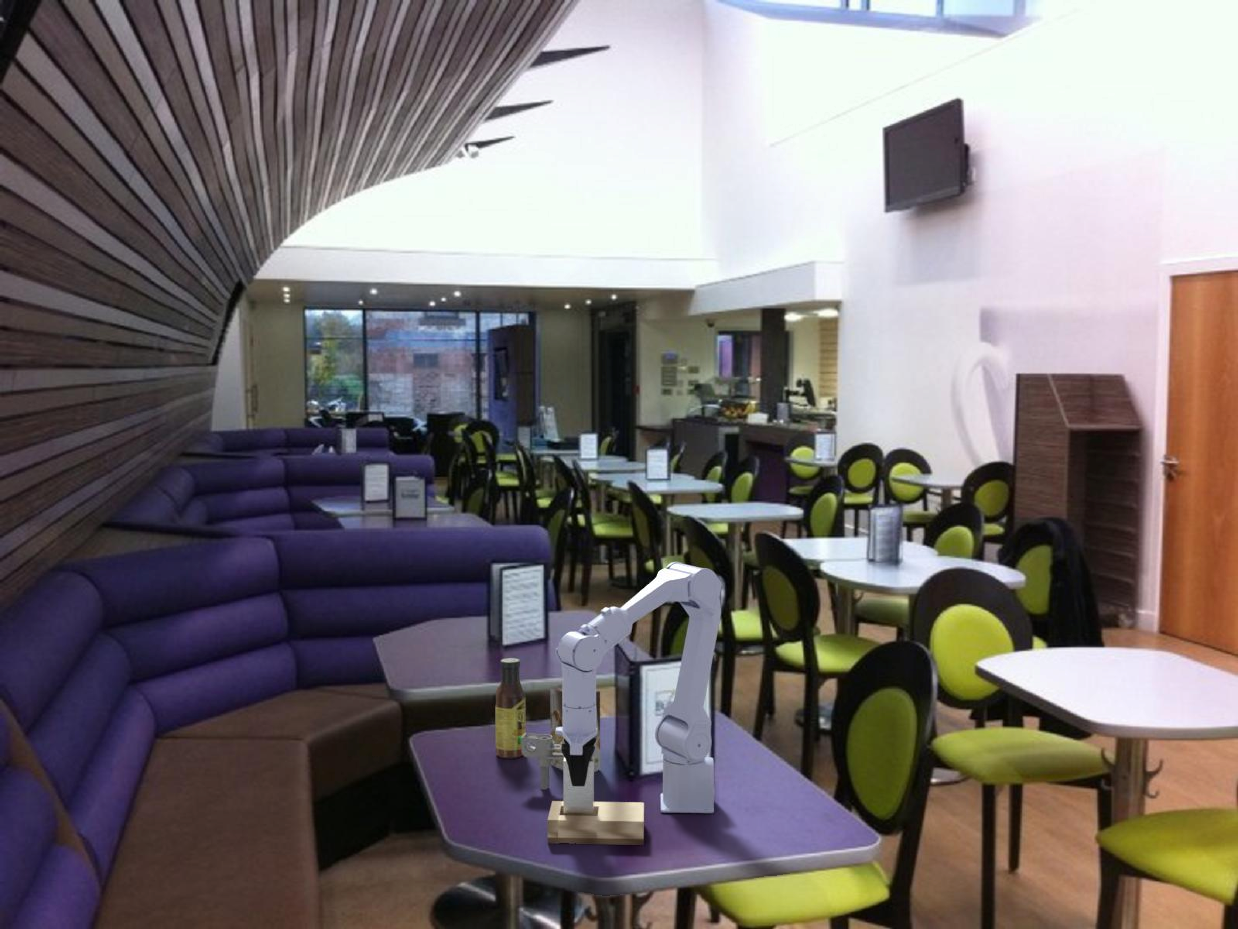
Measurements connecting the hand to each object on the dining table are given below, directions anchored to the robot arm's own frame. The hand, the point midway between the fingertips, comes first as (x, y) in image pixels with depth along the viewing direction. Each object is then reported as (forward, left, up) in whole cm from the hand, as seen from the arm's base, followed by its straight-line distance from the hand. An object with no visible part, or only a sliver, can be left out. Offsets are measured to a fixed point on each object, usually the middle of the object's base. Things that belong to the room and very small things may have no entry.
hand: (579, 782), depth 175 cm
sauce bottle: (+17, -38, -9) cm, 43 cm away
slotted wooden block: (-3, 0, -9) cm, 9 cm away
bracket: (0, 0, -5) cm, 5 cm away
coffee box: (+3, -31, -9) cm, 32 cm away
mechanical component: (+8, -20, -9) cm, 23 cm away
